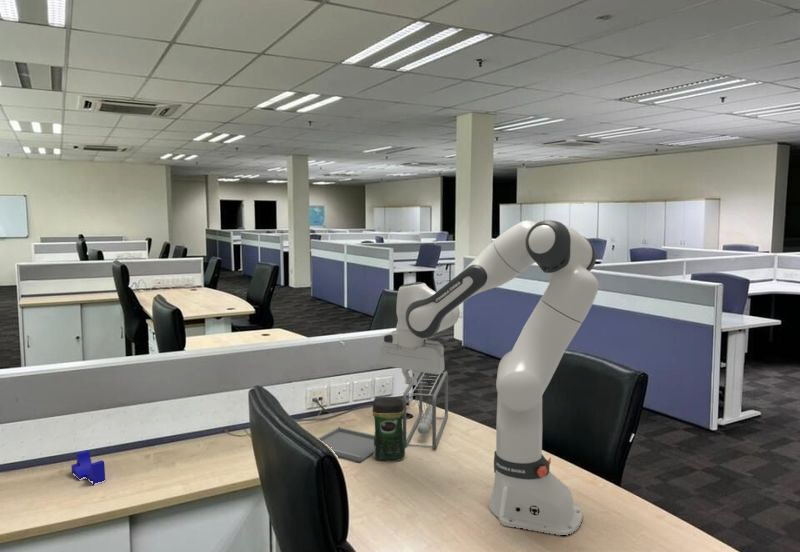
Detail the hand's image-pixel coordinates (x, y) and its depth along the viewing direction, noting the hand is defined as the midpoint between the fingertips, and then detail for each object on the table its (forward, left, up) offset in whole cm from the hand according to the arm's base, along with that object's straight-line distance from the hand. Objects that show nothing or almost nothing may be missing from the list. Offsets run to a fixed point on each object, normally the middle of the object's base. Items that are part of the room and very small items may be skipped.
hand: (411, 384), depth 167 cm
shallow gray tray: (+23, 0, -24) cm, 33 cm away
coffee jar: (+8, 0, -24) cm, 25 cm away
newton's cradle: (+7, -23, -24) cm, 34 cm away
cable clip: (+74, +54, -24) cm, 95 cm away
